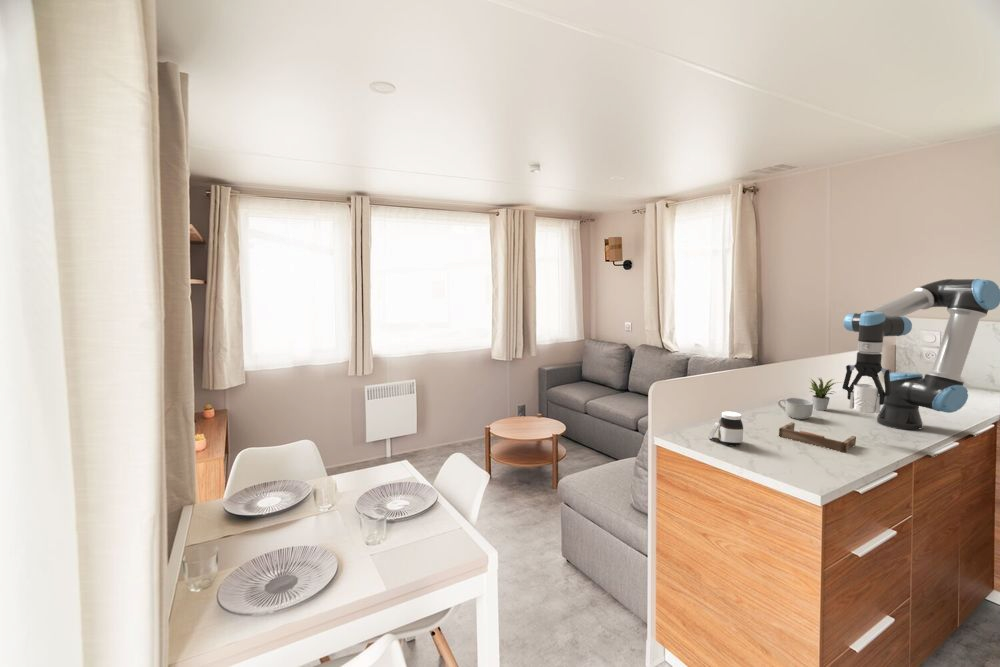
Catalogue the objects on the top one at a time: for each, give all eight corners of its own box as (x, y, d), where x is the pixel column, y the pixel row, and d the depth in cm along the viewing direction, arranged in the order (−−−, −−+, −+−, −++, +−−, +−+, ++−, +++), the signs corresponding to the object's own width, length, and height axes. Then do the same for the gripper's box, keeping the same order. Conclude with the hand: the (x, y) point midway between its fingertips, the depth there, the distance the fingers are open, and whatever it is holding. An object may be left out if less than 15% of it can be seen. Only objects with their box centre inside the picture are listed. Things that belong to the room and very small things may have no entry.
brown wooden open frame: (790, 430, 197) (791, 420, 197) (855, 445, 180) (856, 435, 179) (778, 436, 190) (779, 426, 189) (844, 452, 172) (845, 442, 172)
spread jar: (744, 448, 177) (746, 418, 176) (713, 446, 179) (714, 416, 177) (734, 437, 189) (736, 409, 187) (704, 435, 191) (706, 408, 189)
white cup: (882, 414, 179) (884, 388, 177) (858, 413, 180) (860, 388, 179) (870, 408, 186) (872, 383, 185) (847, 407, 188) (849, 383, 187)
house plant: (842, 409, 229) (845, 376, 227) (839, 415, 218) (842, 381, 216) (807, 404, 238) (810, 372, 236) (803, 409, 228) (806, 376, 226)
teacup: (816, 418, 214) (817, 401, 213) (805, 422, 208) (806, 405, 207) (783, 411, 225) (785, 395, 224) (772, 415, 219) (773, 398, 218)
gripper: (834, 350, 186) (830, 406, 189) (901, 357, 170) (895, 418, 173) (841, 348, 191) (836, 403, 194) (906, 354, 175) (900, 414, 178)
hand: (864, 410), depth 183 cm, fingers closed on white cup, 8 cm apart
